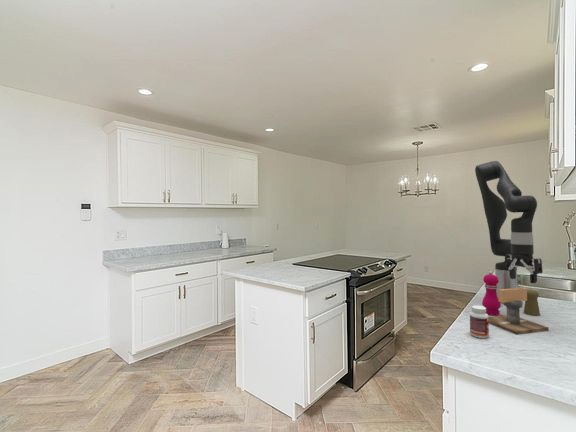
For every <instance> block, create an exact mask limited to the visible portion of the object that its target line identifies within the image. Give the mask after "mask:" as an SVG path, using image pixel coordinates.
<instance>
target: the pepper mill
mask: <svg viewBox="0 0 576 432" xmlns="http://www.w3.org/2000/svg"><path fill="white" fill-rule="evenodd" d="M482 280H483V282H484V288H485V294H484V297H483V299H482V301H481V304H482V305H481V306H483V307H485V308H486V312H485V313H486V314H488V316H500V315H501V313H500V310H499V309H500V308H501V306H502V305H501V304H502V303H501V302H499V299H498V297H497V293H496V289H497V284H498V282H499V280H498V277H497V276H496V274H494V272H493V271H492V270H490V271H488V274H485V275H484V276H483V279H482Z"/></svg>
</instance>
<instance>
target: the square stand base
mask: <svg viewBox="0 0 576 432" xmlns="http://www.w3.org/2000/svg"><path fill="white" fill-rule="evenodd" d="M520 309H521V308H512V307H508V306H506V314H502V315H497V316H494V315H492V316H488V317H489V325H492V326H494V327H496V328H499V329H502V330H503V331H506V332H509V333H511V334H513V335H515V336H516V335H523V334H531V333H539V332H547V331H549V327H548V326H545V325H542V324H540V323H537V322H533V321H531V320H528V319H525V318H523V317H521V315H520V314H521V313H520V311H521V310H520Z"/></svg>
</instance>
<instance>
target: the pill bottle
mask: <svg viewBox="0 0 576 432" xmlns="http://www.w3.org/2000/svg"><path fill="white" fill-rule="evenodd" d="M485 312H486V308H485V307H484V306H483V305H472V307H471V311H470V312H469V333H470V335H471V336H472V337H475V338H477V339H478V338H479V339H487V338H489V336H490V327H489V325H490V324H489V317H490V316H489V315H488V314H486V313H485Z"/></svg>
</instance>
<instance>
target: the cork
mask: <svg viewBox="0 0 576 432" xmlns="http://www.w3.org/2000/svg"><path fill="white" fill-rule="evenodd" d="M539 294H540V293H539V292H538V291H537V290H534V289H527V301H524V308H523V314H524V315H528V316H532V317H533V316H534V317H540V316H541V311H540V307H539V300H538V298H539V297H540V295H539Z"/></svg>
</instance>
